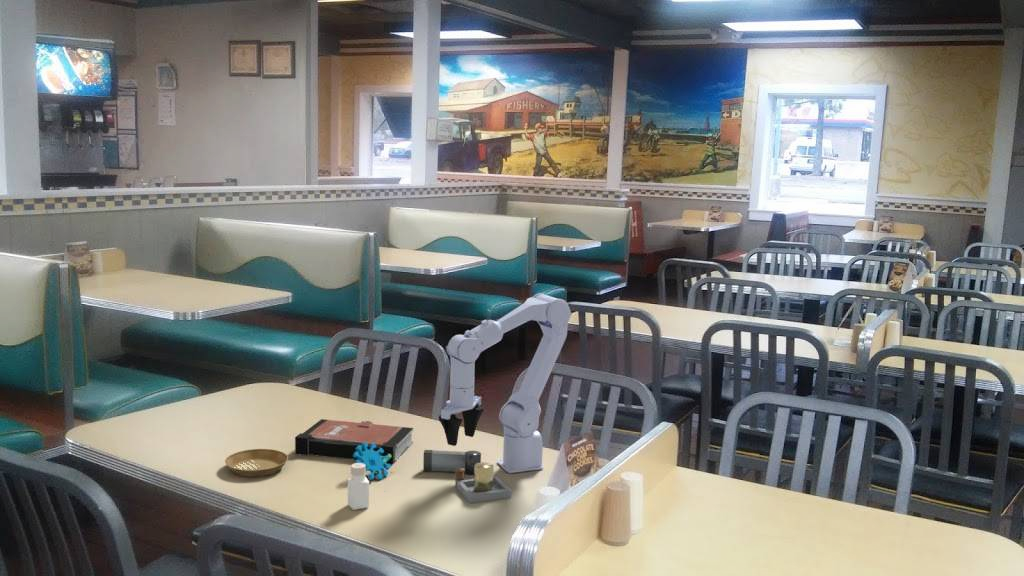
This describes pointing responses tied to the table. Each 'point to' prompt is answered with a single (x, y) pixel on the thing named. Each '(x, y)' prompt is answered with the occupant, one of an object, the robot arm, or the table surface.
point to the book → (352, 439)
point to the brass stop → (483, 477)
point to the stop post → (459, 475)
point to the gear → (373, 460)
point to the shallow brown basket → (257, 461)
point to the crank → (450, 460)
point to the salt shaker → (358, 487)
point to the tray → (468, 492)
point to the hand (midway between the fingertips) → (460, 440)
